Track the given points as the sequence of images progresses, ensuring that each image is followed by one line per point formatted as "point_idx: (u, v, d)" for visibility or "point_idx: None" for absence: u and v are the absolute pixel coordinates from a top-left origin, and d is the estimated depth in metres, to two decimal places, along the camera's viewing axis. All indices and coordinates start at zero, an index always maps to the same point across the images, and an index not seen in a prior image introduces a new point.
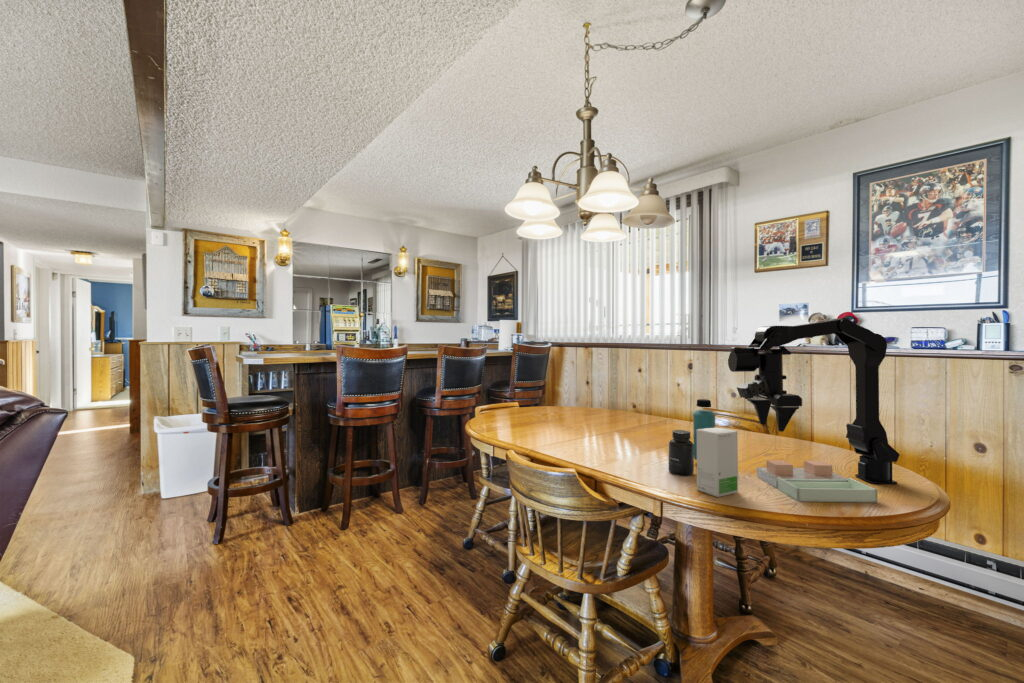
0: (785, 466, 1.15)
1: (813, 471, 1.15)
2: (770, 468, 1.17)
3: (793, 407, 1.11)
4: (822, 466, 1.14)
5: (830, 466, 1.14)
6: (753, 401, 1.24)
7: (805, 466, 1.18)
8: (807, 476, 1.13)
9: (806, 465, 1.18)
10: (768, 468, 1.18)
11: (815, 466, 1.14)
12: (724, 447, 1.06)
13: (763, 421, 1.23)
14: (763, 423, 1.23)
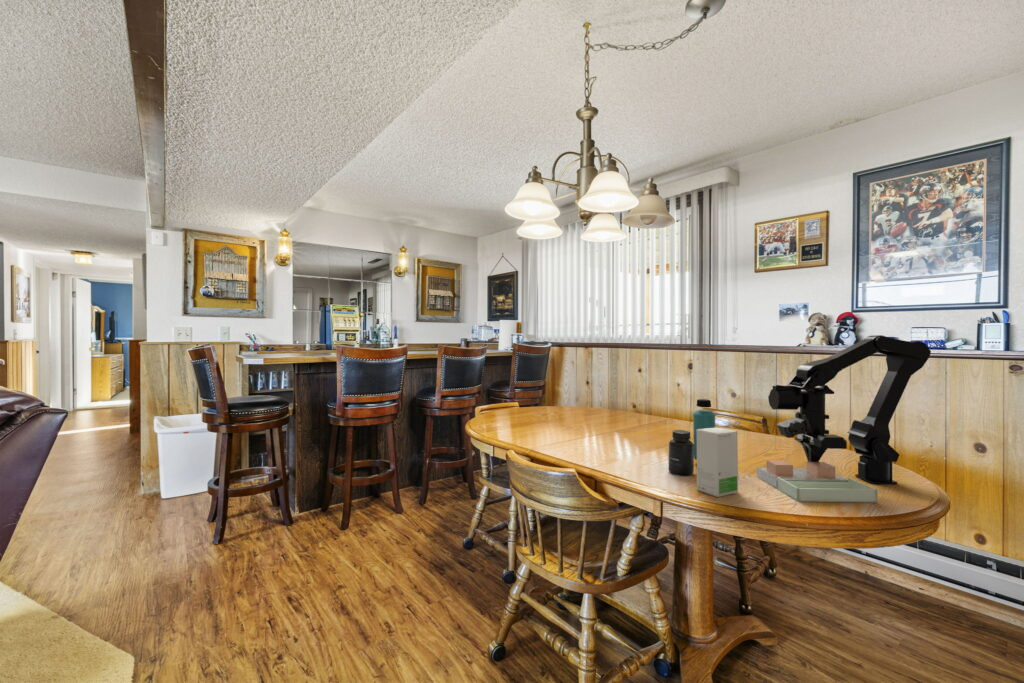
0: (785, 466, 1.15)
1: (816, 472, 1.13)
2: (770, 468, 1.17)
3: None
4: (825, 467, 1.13)
5: (833, 467, 1.13)
6: (802, 441, 1.19)
7: (808, 467, 1.17)
8: (807, 476, 1.13)
9: (808, 466, 1.16)
10: (768, 468, 1.18)
11: (818, 467, 1.13)
12: (724, 447, 1.06)
13: None
14: None
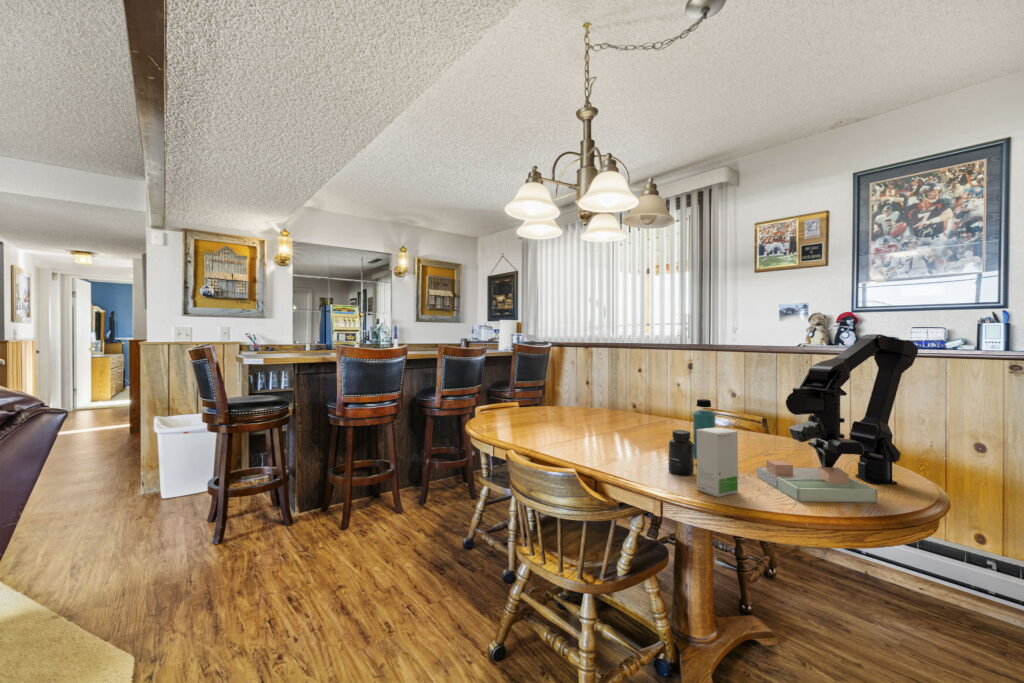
0: (785, 466, 1.15)
1: (827, 479, 1.08)
2: (770, 468, 1.17)
3: None
4: (837, 475, 1.07)
5: (846, 475, 1.07)
6: (816, 446, 1.14)
7: (820, 473, 1.12)
8: (807, 476, 1.13)
9: (821, 472, 1.11)
10: (768, 468, 1.18)
11: (829, 475, 1.08)
12: (724, 447, 1.06)
13: None
14: None
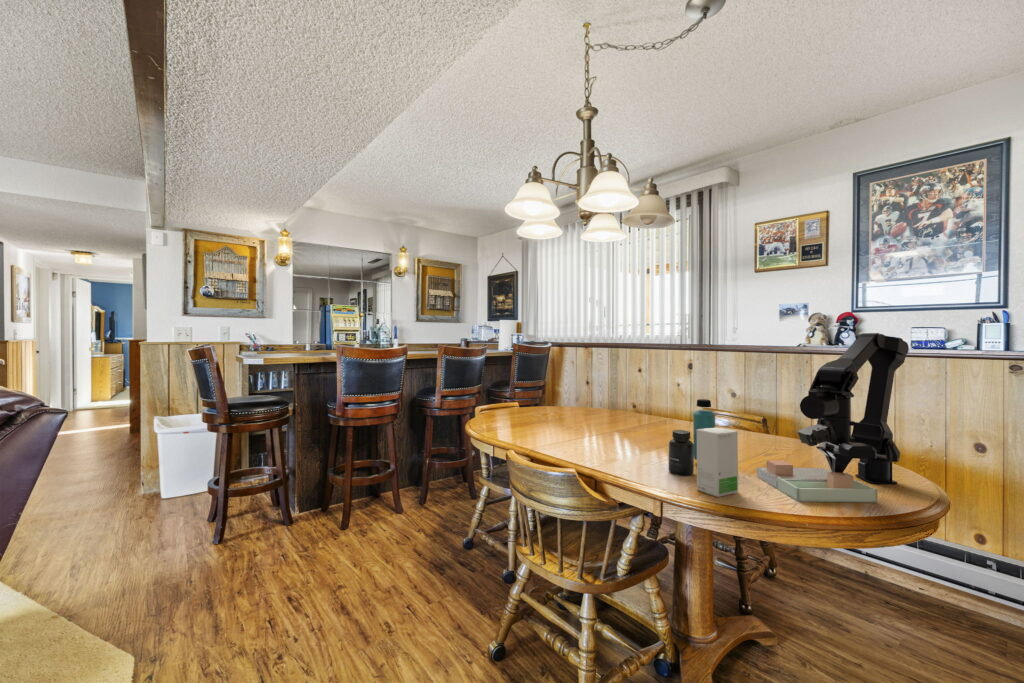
0: (785, 466, 1.15)
1: None
2: (770, 468, 1.17)
3: None
4: None
5: None
6: (825, 450, 1.10)
7: (829, 476, 1.07)
8: (807, 476, 1.13)
9: (830, 478, 1.07)
10: (768, 468, 1.18)
11: None
12: (724, 447, 1.06)
13: None
14: None
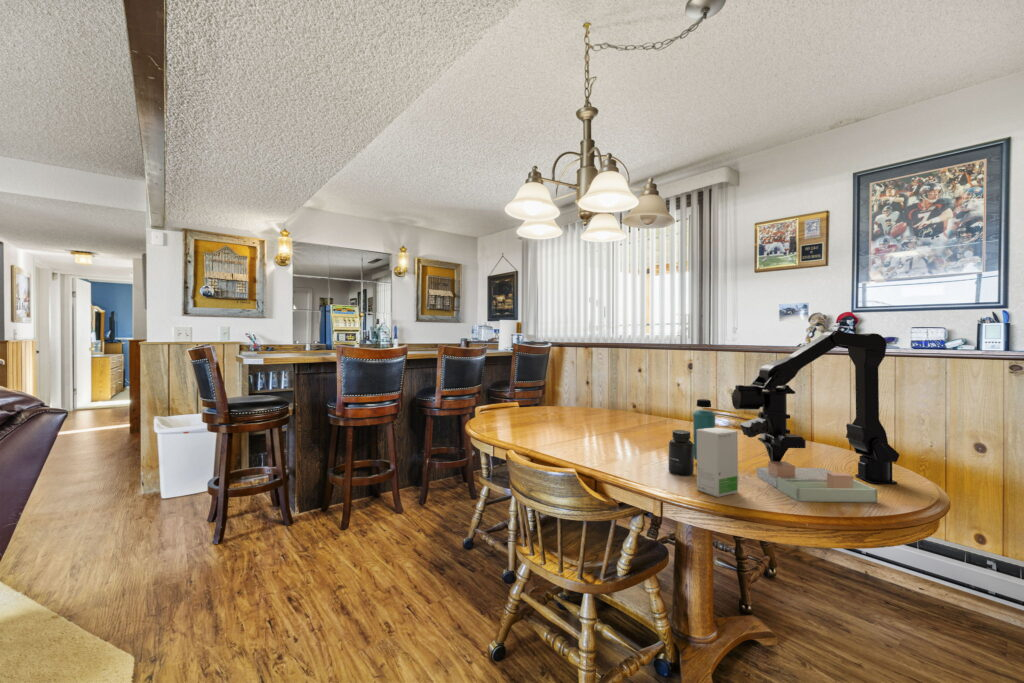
0: (787, 467, 1.14)
1: None
2: (772, 469, 1.16)
3: None
4: None
5: None
6: (764, 441, 1.20)
7: (829, 476, 1.07)
8: (807, 476, 1.13)
9: (830, 478, 1.07)
10: (770, 469, 1.17)
11: None
12: (724, 447, 1.06)
13: None
14: None
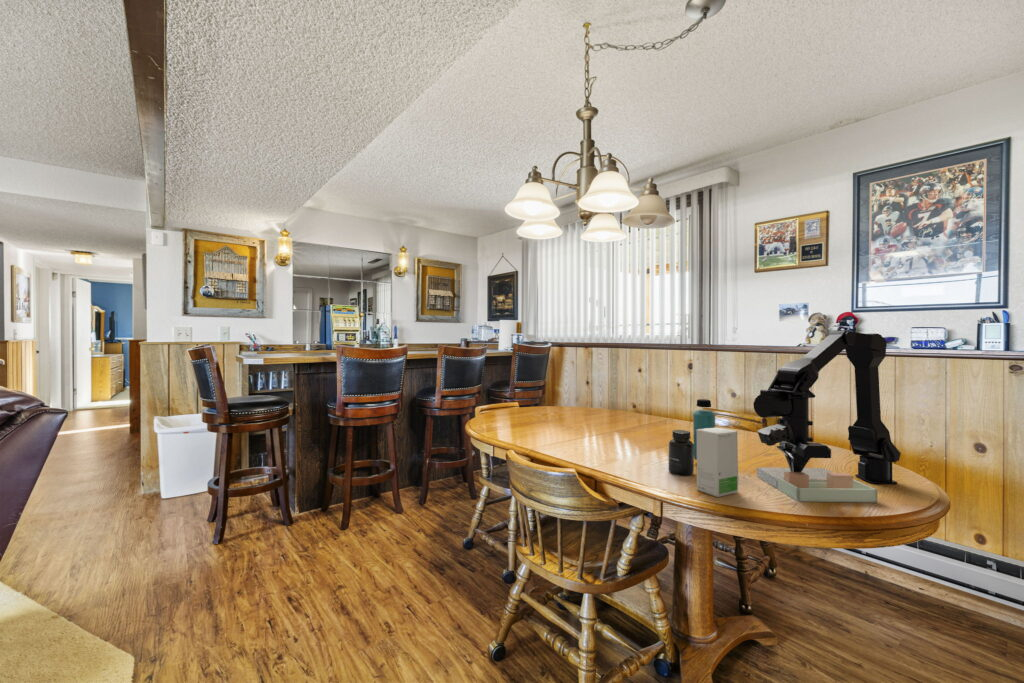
0: None
1: None
2: (785, 480, 1.08)
3: None
4: None
5: None
6: (784, 450, 1.10)
7: (829, 476, 1.07)
8: None
9: (830, 478, 1.07)
10: (785, 476, 1.08)
11: None
12: (724, 447, 1.06)
13: None
14: None
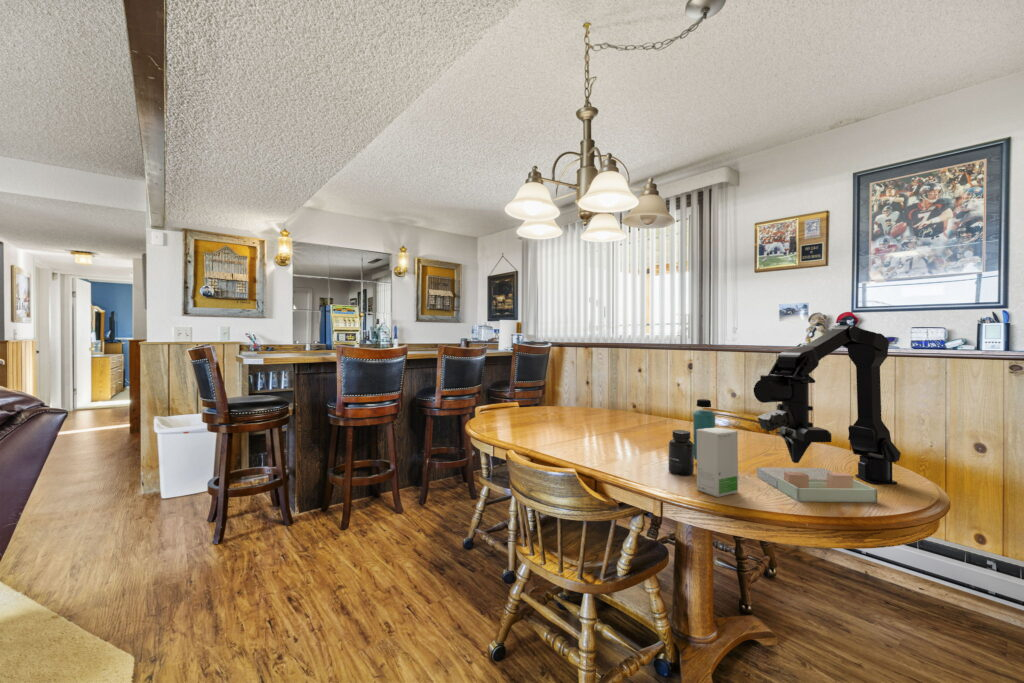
0: None
1: None
2: (785, 480, 1.08)
3: None
4: None
5: None
6: (784, 435, 1.10)
7: (829, 476, 1.07)
8: None
9: (830, 478, 1.07)
10: (785, 476, 1.09)
11: None
12: (724, 447, 1.06)
13: None
14: None
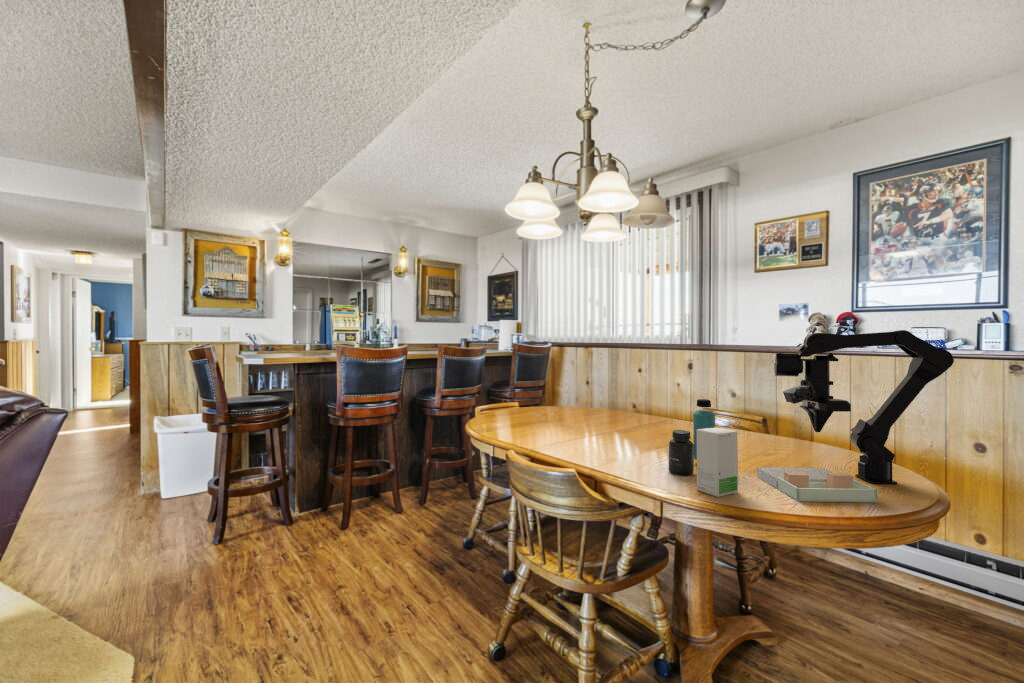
0: None
1: None
2: (785, 480, 1.08)
3: None
4: None
5: None
6: (807, 408, 1.23)
7: (829, 476, 1.07)
8: None
9: (830, 478, 1.07)
10: (785, 476, 1.09)
11: None
12: (724, 447, 1.06)
13: None
14: None
